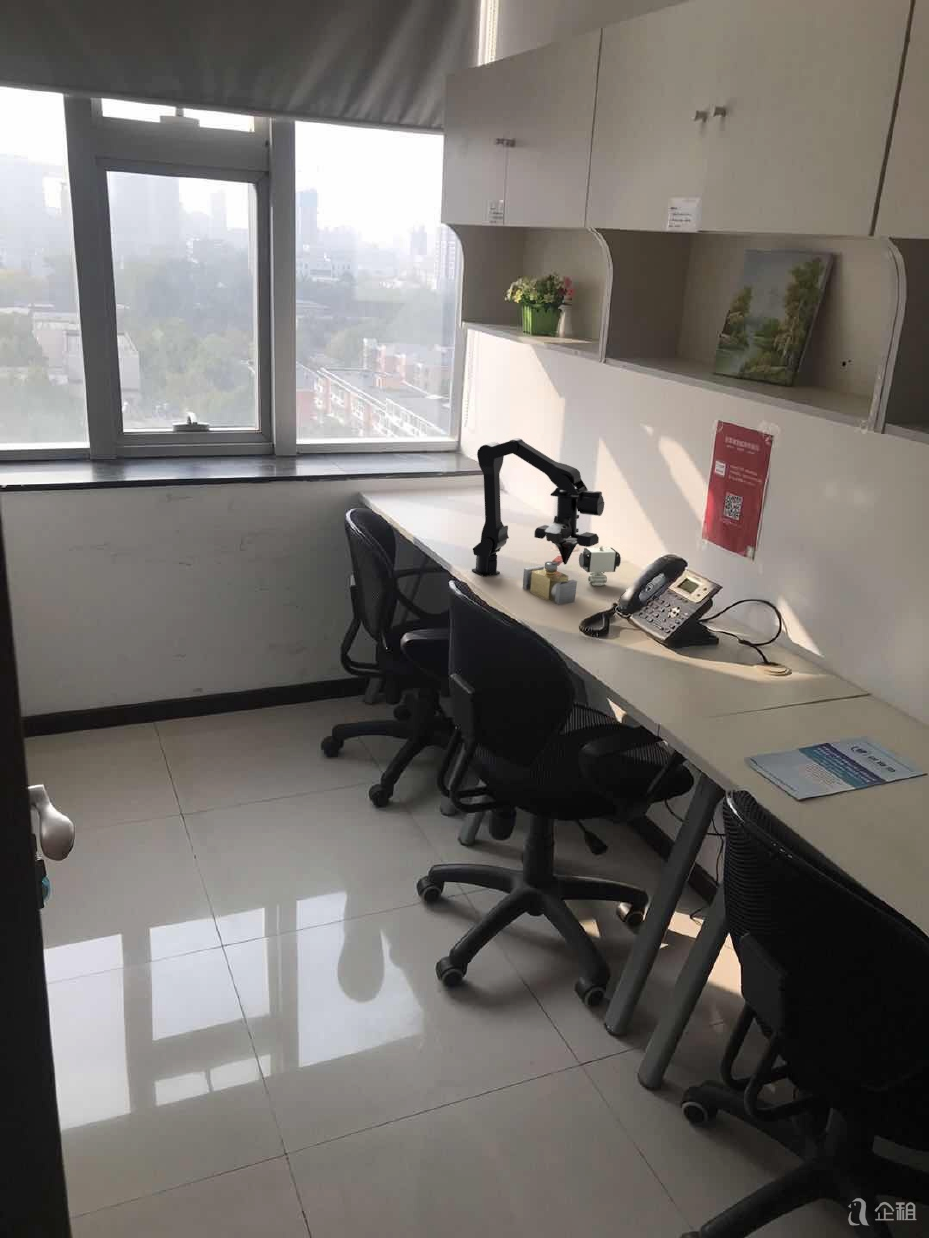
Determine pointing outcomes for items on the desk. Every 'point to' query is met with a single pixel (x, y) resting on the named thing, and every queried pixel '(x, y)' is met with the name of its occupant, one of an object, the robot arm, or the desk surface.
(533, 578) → the valve pipe
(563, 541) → the robot arm
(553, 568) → the lever
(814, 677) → the desk surface
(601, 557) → the pneumatic valve
